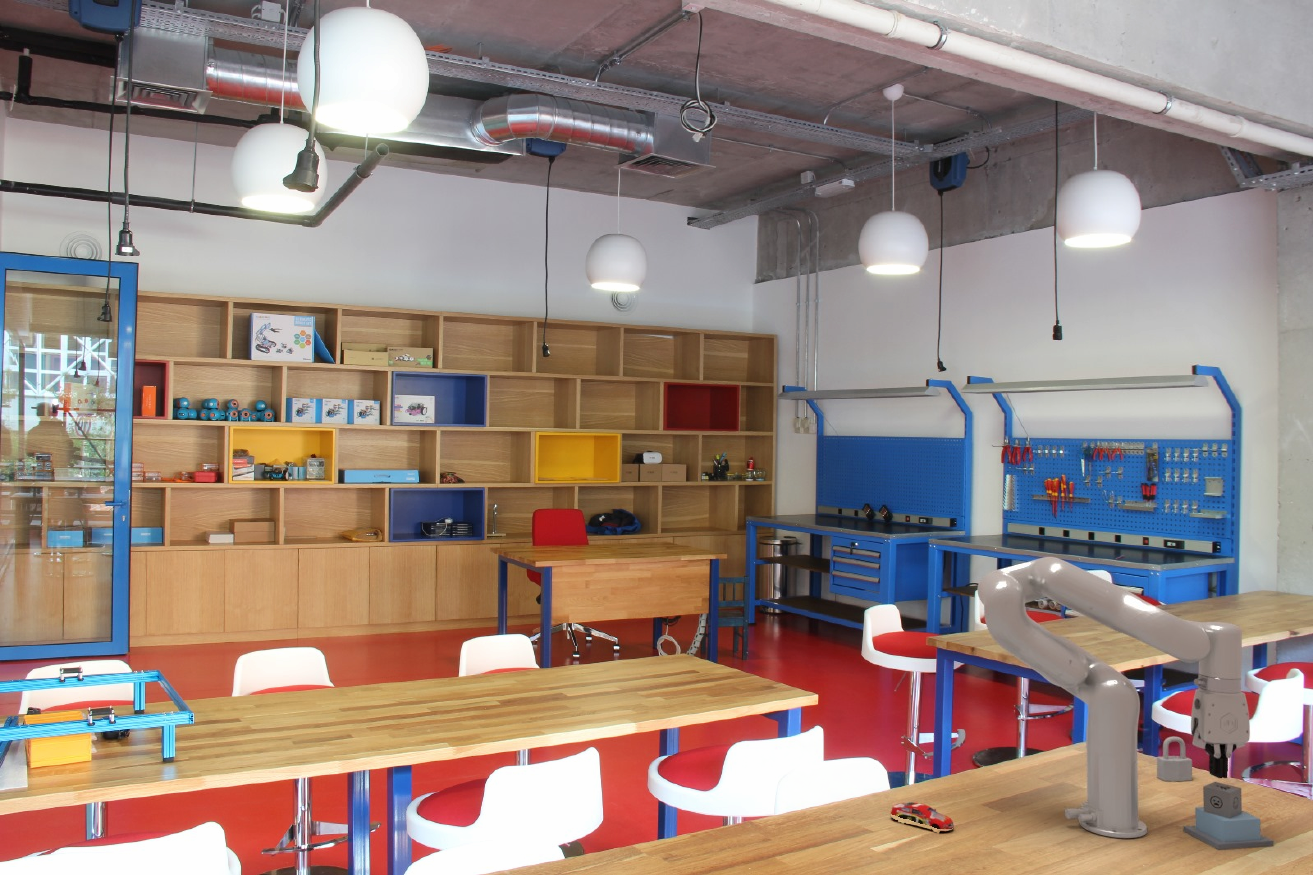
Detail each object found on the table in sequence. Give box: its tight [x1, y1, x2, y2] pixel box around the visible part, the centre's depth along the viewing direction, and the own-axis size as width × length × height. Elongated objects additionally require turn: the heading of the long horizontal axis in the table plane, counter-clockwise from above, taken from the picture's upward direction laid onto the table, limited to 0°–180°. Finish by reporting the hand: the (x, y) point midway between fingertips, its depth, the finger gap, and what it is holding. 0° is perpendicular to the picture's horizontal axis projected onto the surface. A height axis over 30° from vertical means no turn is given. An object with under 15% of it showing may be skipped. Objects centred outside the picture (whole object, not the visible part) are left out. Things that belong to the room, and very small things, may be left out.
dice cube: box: [1202, 781, 1243, 819], centre depth 201 cm, size 5×5×5 cm
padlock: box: [1156, 736, 1193, 782], centre depth 239 cm, size 7×4×10 cm, turn 95°
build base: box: [1182, 806, 1275, 851], centre depth 201 cm, size 12×10×5 cm
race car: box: [890, 801, 955, 829], centre depth 208 cm, size 13×5×4 cm, turn 47°
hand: (1218, 776), depth 203 cm, fingers closed
